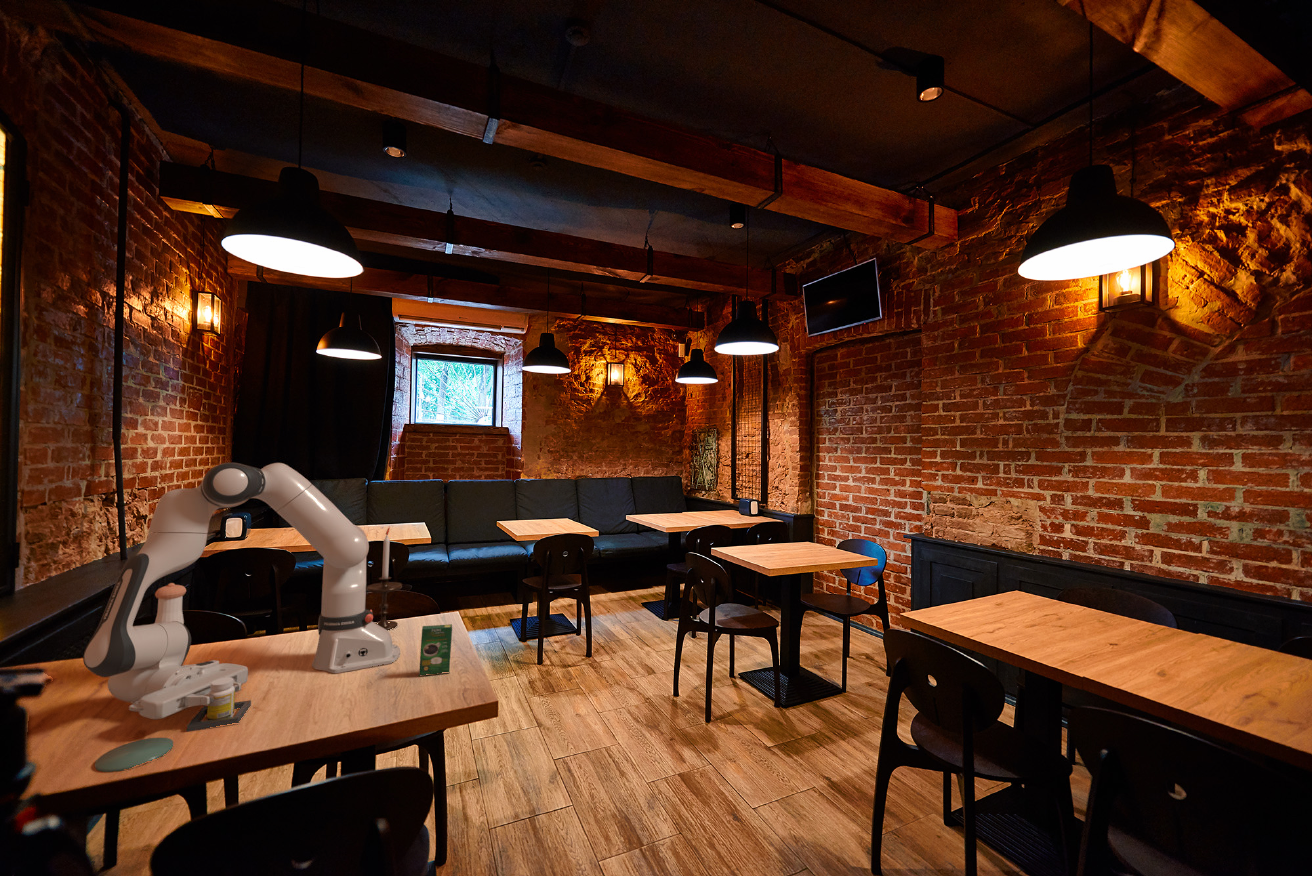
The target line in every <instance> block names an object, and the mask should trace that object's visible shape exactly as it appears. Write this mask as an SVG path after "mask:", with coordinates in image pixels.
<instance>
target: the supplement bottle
mask: <svg viewBox="0 0 1312 876" xmlns="http://www.w3.org/2000/svg"><path fill="white" fill-rule="evenodd" d="M210 690H211V691H210V692H209V693H208V694H210V695H211V694H212V695H214V702H213V703H210V704H208V705H207V706H208V708H207V715H206V720H213V719H221V718H228V717H234V716H235V715H234V714H235V710H234V702H235V699H236V698H235V695H236V692H235V688H234V686H233V678H230V677H226V678H220V679H217V680H214V681H212V682H211V686H210Z"/></svg>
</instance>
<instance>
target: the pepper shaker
mask: <svg viewBox="0 0 1312 876" xmlns="http://www.w3.org/2000/svg"><path fill="white" fill-rule="evenodd" d="M186 592H187V588H186V587H185V586H184V585H180V584H175V583H174V582H170V583H168V584H167V585H165V586H162V587H159V588H158V589H157V590H156V591H155V593H154V596H155V597H156V599H158V600H157V601H158V603H157V613H156V617H155V621H154V624H155V623H163V622H172V621H178V622H180V623H182V624H183V625H185V624H184V623H185V620H184V614H183V613H184V612H183V596H184V595H185V594H186Z"/></svg>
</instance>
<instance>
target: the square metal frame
mask: <svg viewBox="0 0 1312 876" xmlns="http://www.w3.org/2000/svg"><path fill="white" fill-rule="evenodd" d="M250 706H252V700H251V699H250V700H241V701H234V709H237V708H240V709H239V710H238V711H237V713H236V714H235V715H234V716H232V717H228V718H221V719H213V720H207V719H206V720H203V719H204V718H205V717H207V715H206V714H207V708H208V705H203V707H202V708H201V709H200V710H199V711H198V712H197V713H196V714H195V715H194V717H193V718H192V719H191V720H190V721H189V722H188V724H187V725H186V732H187V733H188V732H195V731H201V729H202V730H207V729H206V728H209V729H211V728H210V727H216V726H220V725H227V724H232V723H240V722H241V721H242V720H241V718H242V717H243V716H244V717H245V715H246V714H247V712H248V711H249V710H248V708H249V707H250ZM250 708H251V707H250ZM250 708H249V709H250ZM247 710H248V711H247ZM246 711H247V712H246ZM245 713H246V714H245ZM244 714H245V715H244ZM244 717H243V718H244ZM243 718H242V719H243ZM240 720H241V721H240ZM239 721H240V722H239ZM216 728H217V727H216Z"/></svg>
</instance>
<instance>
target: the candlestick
mask: <svg viewBox="0 0 1312 876" xmlns="http://www.w3.org/2000/svg"><path fill="white" fill-rule="evenodd" d="M390 528H391V527H390V526H388V528H387V531H386V533H385V538H384V539H383V550H382V572H381V573H382V574H381V577H379V578H378V580H381V582H377V583H376V582H375V583H372V584H369V585H366V592H369V593H374V594H375V593H376V594H378V593H379V594H381V603H380V604H379V609H380V612H379V615H380V616H381V617H380V618H381V619H380V620H379V621H376V622H375V623H376V624H377V623H378V624H377V625H379V626H381V627H382V628H384V629H386V630H389V631H391V630H390V629H392V628H395V627H396V626H397V627H398V625H399V624H398V622H397V621H396V620H395V621H393V620H387V618H386V616H387V614H388V611H387V609H388V607H389V603H387V594H388V593H390V592H395V591H399V590H401V589H402V587H403V583H401V582H399V581H397V582H396V581H389V580H391V579H392V577H391V576H389V566H390V565H389V564H390V542H391V540H390V538H389V536H388V535H389V532H390V530H391V529H390ZM388 622H390V623H388ZM397 627H396V628H397ZM396 628H395V629H396ZM392 630H393V629H392Z"/></svg>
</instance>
